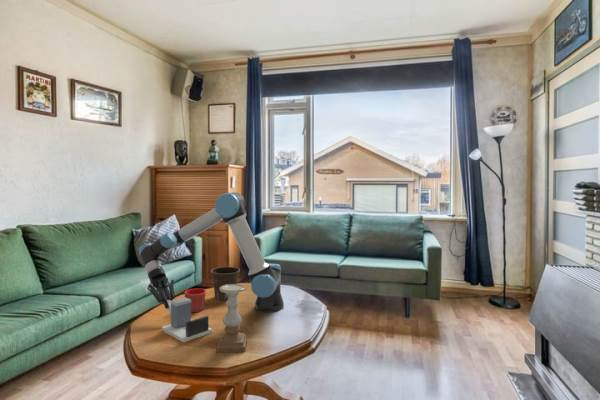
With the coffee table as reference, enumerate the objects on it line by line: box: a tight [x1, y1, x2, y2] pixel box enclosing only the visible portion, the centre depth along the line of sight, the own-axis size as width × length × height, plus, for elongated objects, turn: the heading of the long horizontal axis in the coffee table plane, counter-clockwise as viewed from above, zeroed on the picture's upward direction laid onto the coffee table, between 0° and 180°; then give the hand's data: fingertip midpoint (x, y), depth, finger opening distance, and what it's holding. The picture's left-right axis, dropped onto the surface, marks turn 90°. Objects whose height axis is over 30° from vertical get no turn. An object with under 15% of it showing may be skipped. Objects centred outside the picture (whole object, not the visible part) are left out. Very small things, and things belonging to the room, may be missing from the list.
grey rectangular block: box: [170, 296, 192, 328], centre depth 160 cm, size 5×7×11 cm
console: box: [161, 315, 213, 343], centre depth 157 cm, size 18×14×8 cm
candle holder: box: [216, 283, 248, 354], centre depth 142 cm, size 11×11×24 cm
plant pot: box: [210, 266, 241, 302], centre depth 204 cm, size 16×16×16 cm
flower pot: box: [184, 288, 207, 313], centre depth 184 cm, size 11×11×10 cm
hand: (172, 313), depth 165 cm, fingers closed
